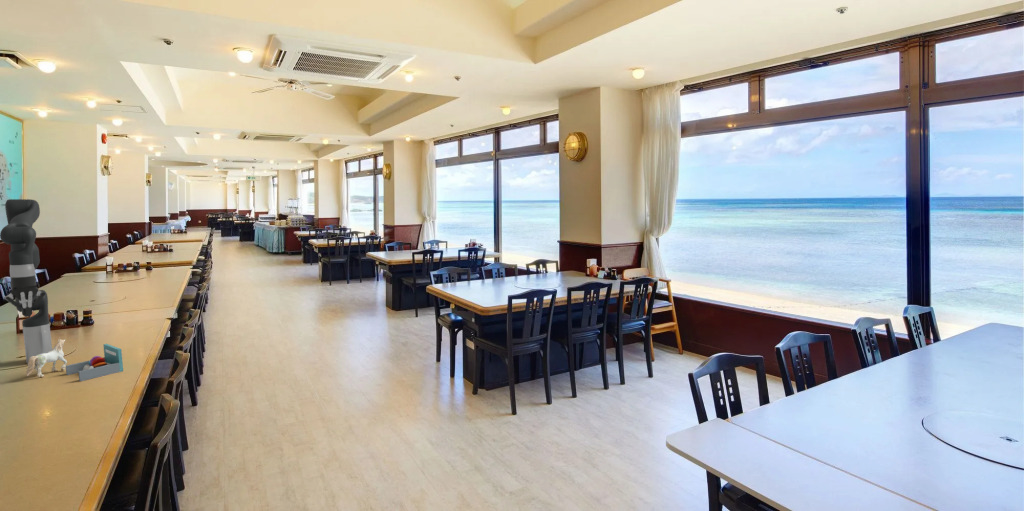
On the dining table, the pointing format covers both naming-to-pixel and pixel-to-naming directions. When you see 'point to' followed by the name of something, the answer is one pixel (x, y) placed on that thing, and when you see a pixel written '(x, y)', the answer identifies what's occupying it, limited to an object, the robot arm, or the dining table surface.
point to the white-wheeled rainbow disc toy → (95, 363)
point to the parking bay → (110, 356)
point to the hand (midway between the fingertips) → (27, 316)
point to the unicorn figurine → (47, 359)
